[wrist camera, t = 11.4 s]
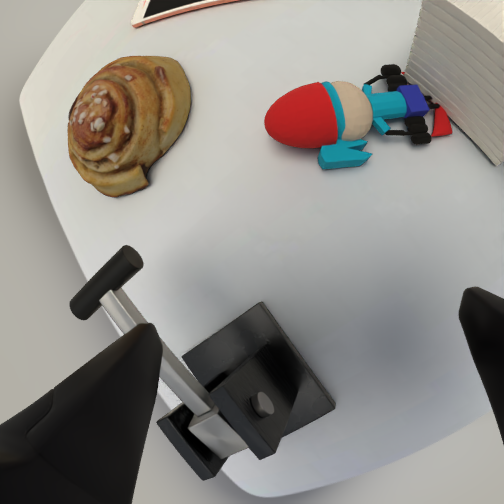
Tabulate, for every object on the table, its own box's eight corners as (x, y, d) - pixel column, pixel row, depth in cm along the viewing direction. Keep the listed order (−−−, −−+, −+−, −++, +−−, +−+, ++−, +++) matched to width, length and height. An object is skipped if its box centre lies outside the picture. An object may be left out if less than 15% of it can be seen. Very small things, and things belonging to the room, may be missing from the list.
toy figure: (412, 77, 22) (254, 102, 23) (432, 49, 17) (249, 69, 18) (444, 151, 22) (280, 187, 23) (473, 132, 17) (281, 168, 18)
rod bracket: (186, 353, 25) (112, 389, 15) (262, 300, 23) (212, 320, 14) (254, 446, 23) (213, 517, 13) (336, 403, 21) (331, 477, 12)
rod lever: (83, 293, 17) (59, 304, 14) (135, 242, 16) (112, 247, 13) (212, 441, 17) (203, 466, 15) (275, 410, 16) (273, 436, 14)
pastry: (94, 215, 28) (34, 201, 21) (85, 102, 30) (40, 75, 23) (211, 159, 25) (163, 118, 18) (180, 45, 27) (143, 0, 20)
